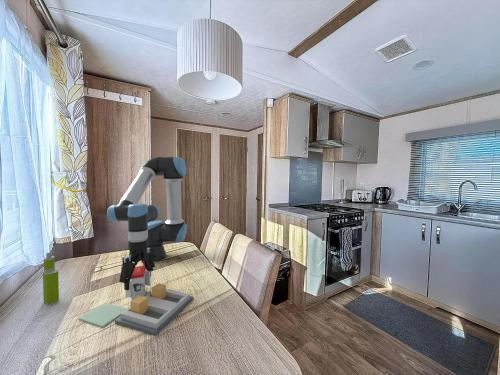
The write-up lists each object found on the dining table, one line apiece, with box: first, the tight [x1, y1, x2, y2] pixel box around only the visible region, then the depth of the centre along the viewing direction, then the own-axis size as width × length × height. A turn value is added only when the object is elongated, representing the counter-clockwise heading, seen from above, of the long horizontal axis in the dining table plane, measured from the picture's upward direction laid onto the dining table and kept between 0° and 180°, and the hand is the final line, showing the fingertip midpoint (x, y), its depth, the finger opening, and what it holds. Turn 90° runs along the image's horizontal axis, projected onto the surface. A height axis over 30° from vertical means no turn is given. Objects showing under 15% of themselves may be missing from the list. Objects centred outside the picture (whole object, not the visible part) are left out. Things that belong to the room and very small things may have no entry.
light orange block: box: [130, 296, 148, 315], centre depth 78 cm, size 4×4×5 cm
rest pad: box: [78, 302, 127, 328], centre depth 79 cm, size 10×12×1 cm
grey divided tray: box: [114, 288, 195, 337], centre depth 82 cm, size 22×18×3 cm
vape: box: [42, 252, 60, 306], centre depth 86 cm, size 4×6×20 cm, turn 62°
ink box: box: [130, 262, 146, 302], centre depth 91 cm, size 8×5×15 cm, turn 23°
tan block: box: [151, 283, 167, 299], centre depth 87 cm, size 4×4×5 cm
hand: (138, 290), depth 91 cm, fingers closed on ink box, 9 cm apart
